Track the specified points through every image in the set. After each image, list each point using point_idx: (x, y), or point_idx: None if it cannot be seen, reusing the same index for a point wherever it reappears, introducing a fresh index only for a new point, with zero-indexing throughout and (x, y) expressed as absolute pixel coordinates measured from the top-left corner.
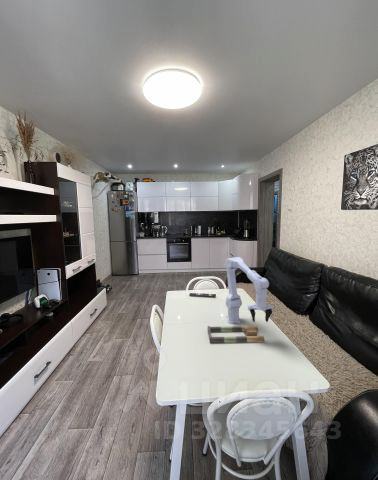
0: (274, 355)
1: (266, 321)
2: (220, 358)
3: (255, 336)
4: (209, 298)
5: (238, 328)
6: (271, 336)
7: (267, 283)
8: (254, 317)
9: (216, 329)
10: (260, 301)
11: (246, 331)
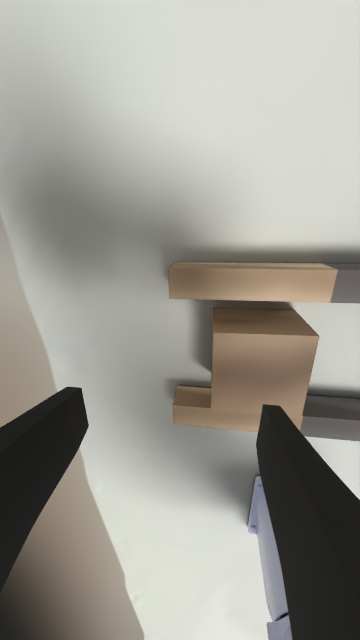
0: (149, 60)
1: (79, 396)
2: None
3: (240, 294)
4: None
5: (332, 415)
6: (102, 328)
7: None
8: (312, 483)
9: None
10: None
11: (311, 351)
